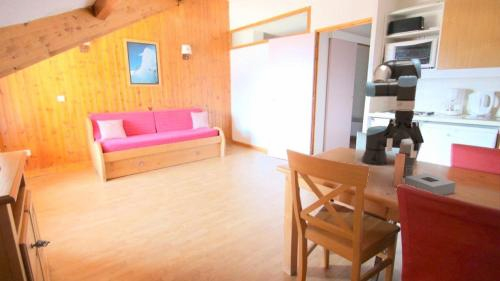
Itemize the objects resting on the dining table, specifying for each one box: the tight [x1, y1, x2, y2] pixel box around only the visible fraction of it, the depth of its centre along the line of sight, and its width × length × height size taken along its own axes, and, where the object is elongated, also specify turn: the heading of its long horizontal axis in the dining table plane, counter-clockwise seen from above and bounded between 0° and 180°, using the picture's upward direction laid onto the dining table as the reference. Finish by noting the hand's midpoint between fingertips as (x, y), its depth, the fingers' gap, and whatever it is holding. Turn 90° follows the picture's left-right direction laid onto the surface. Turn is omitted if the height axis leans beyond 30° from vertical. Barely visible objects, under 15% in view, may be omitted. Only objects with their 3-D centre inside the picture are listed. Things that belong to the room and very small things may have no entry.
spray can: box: [398, 139, 417, 178], centre depth 139 cm, size 8×8×20 cm
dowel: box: [392, 152, 405, 188], centre depth 126 cm, size 4×4×16 cm
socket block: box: [404, 172, 457, 196], centre depth 121 cm, size 14×14×5 cm
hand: (400, 154), depth 124 cm, fingers open, 13 cm apart
